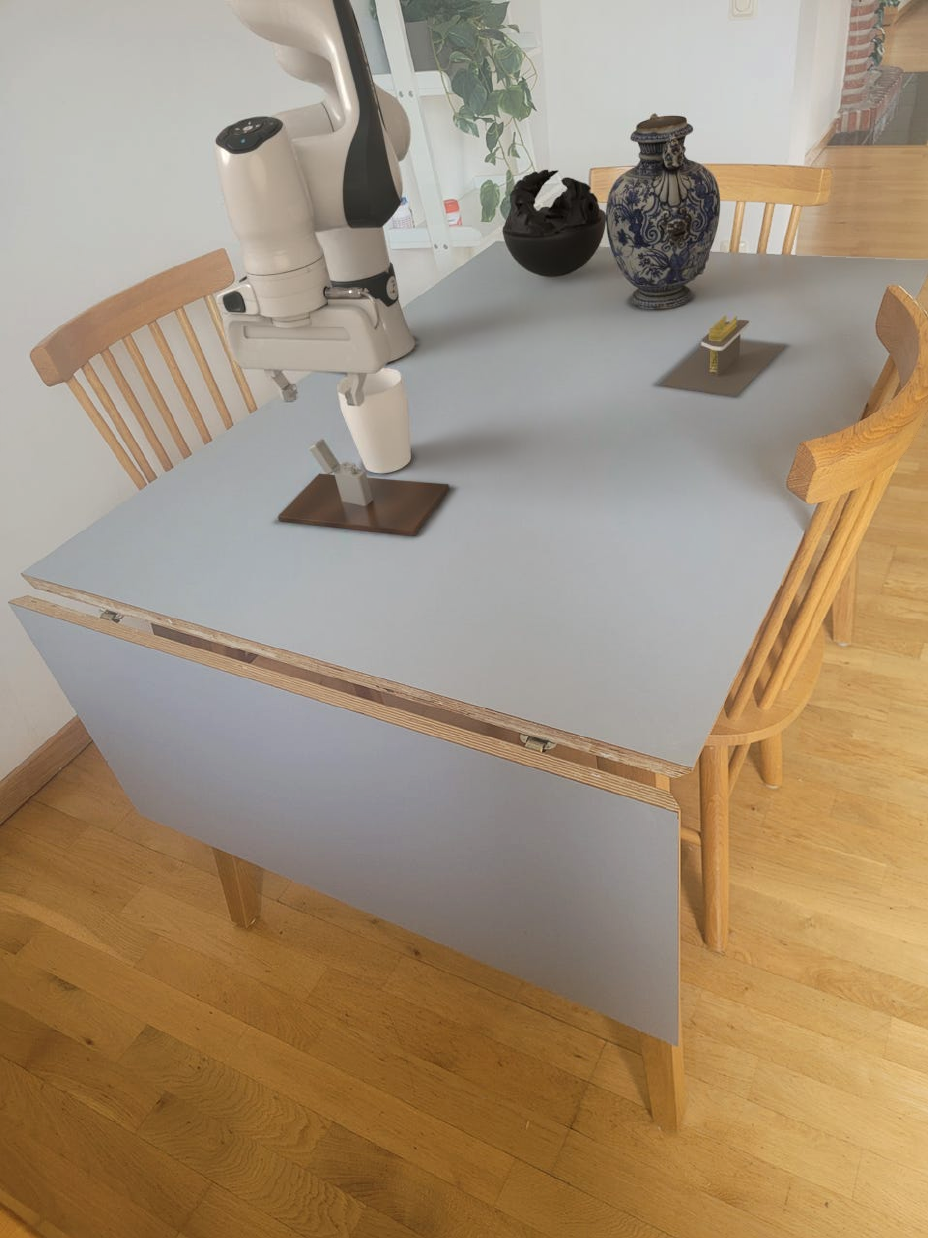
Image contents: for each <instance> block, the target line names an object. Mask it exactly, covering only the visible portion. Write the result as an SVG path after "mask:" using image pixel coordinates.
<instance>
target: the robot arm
mask: <svg viewBox="0 0 928 1238" xmlns="http://www.w3.org/2000/svg"><path fill="white" fill-rule="evenodd" d="M225 3H226V4H227V6H228V8H229V9H230V10H231V12H232V14H233V15H234V16H235V17H236V19H237V20H238V21H239V22H240V23H241V24H242V25H243V26H244V27H245V28H247V29H248V30H249V31H250V32H252V33H254V34H255V35H257V36H258V37H260V38H262V39H263V40H266V41H269V42H270V43H271V46H272V50H273V54H274V58H275V59H276V61H277V63H278V65H279V67H280V69H282V70H283V71H284V72H285V73H286V74H287V75H290V76H291V77H293V78H295V79H297V80H300V81H302V82H304V83H308V84H311V85H314V86H317V87H320V88H321V89H322V90H323V94H324V99H323V100H322V101H320V102H317V103H314V104H309V105H305V106H300V107H296V108H291V109H288V110H287V109H286V110H283V111H279V112H277V113H275V114H272V115H271V116H266V115H263V116H262V115H261V116H259V115H258V116H253V117H248V118H244V119H241V120H238V121H236V122H234V123H233V124H230V125H227V126H226V127H225V128H223V129H222V131H220V132H219V133H218V134H217V136H216V138H215V140H214V157H215V163H216V170H217V175H218V180H219V185H220V189H221V193H222V197H223V202H224V206H225V210H226V214H227V216H228V219H229V223H230V226H231V229H232V231H233V233H234V235H235V236H236V237H237V240H238V241H239V244H240V247H241V250H242V258H243V259H242V261H243V262H242V263H243V269H244V272H245V276H243V277H241V278H240V279H239V280H237V281H235V282H233V283H232V284H231V285H229V286H227V287H226V288H225V289H224V290H222V291H221V292H220V293H218V294H217V295H216V297H215V301H216V305H217V307H218V309H219V311H220V312H221V313H223V314H224V315H223V318H222V326H223V331H224V334H225V335H224V336H225V338H226V342H227V345H228V349H229V351H230V354H231V357H232V359H233V361H234V362H235V363H236V364H237V365H238V366H239V367H240V368H241V369H244V370H263V372H264V375H265V378H266V379H267V381H269V382H270V383H271V385H272V386H273V387H274V388H275V389H276V390H277V391H278V394H279V397H280V400H281V402H282V403H295V401H297V400H298V399H299V396H300V395H299V392H298V391H297V390H298V387H297V384H296V383H290V381H289V380H288V378H287V377H286V375H285V374H284V372H283V371H290V372H291V371H293V372H317V373H319V372H320V373H341V374H342V373H343V374H346V375H347V376H346V377H348V380H350V381H352V380H353V384H352V387H350V388H349V390H348V391H346V392H345V393H344V394H345V398H346V399H347V405H349V406H360V405H361V404H362V403H363V402H364V394H363V390H362V387H363V384H364V381H365V378H366V375H367V374H375V373H377V372H379V371H380V370H381V369H382V368H385V366H386V365H387V364H388V363H391V362H393V361H395V360H398V359H400V358H402V357H404V356H406V355H407V354H408V353H410V352H411V351H412V350H413V349H414V348H415V346H416V340H415V338H414V337H413V334H412V332H411V330H410V328H409V326H408V323H407V320H406V318H405V315H404V312H403V309H402V306H401V303H400V299H399V298H400V296H399V295H400V294H399V287H398V281H397V278H396V271H395V267H394V264H393V263H392V262H391V261H390V255H389V250H388V245H387V240H386V235H385V231H384V226H385V225H386V224H387V223H388V222H389V220H391V218H393V216H394V215H395V213H396V212H397V211H398V210H399V208H400V207H401V204H402V203H403V193H404V191H403V190H404V187H403V186H404V185H403V183H404V182H403V175H402V170H401V166H400V162H402V161H403V160H405V158H406V157H407V154H408V152H409V148H410V145H411V138H412V132H411V131H412V129H411V124H410V123H411V122H410V120H409V116H408V114H407V112H406V110H405V108H404V106H403V105H402V104H401V102H400V101H399V100H398V99H397V98H396V97H395V96H394V95H392V94H391V93H389V92H387V91H386V90H385V89H383V88H381V86H379V85H378V84H376V83H375V82H374V77H373V75H372V72H371V67H370V63H369V60H368V55H367V52H366V49H365V44H364V42H363V41H364V40H363V38H362V35H361V30H360V27H359V24H358V21H357V17H356V14H355V11H354V8H353V5H352V4H351V1H350V0H225Z"/></svg>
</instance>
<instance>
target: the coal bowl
mask: <svg viewBox="0 0 928 1238" xmlns="http://www.w3.org/2000/svg"><path fill="white" fill-rule="evenodd" d="M557 173H559V170H551V171H549V169H542V170H541V171H539V172H538V171H533V172H532V173H529V174H526V175H524V176H523V177H522V179H519V180H517V182H516V183H515V185H514V187H513V190H511V192H510V194H509V203H510V208H509V213H508V215H507V218H506V219H505V222H504V225H503V226H502V230H501V231H502V232H501V233H502V236H503V240H504V243H505V245H506V248H507V250H508V252H509V253H510V255H511V256H512V257H513V259H514V260H515V261H516V262H517V264H519V266H521V267H522V268H523V269H525V270H526V271H528V272H530V273H532V274H533V275H534V274H535V275H537V276H541V277H546V278H559V277H563V276H566V275H569V274H572V273H574V272H576V271H578V270H579V269H581V268H582V267H583V266H585V265H586V264H587V263H588V262H589V261H590V260H591V259H592V258H593V256H594V255H595V254H596V252H597V250H598V249H599V247H600V245H601V243H602V241H603V237H604V234H605V232H606V231H605V230H606V211H604V210H603V209H601V208H600V205H599V203H598V202H599V200H598V198H597V196H596V194H595V193H593V192H591V190H592V187H591V186H590V185H589V184H587V183H586V182H582V181H580V180H577V179H575V178H572V177H567V176H566V177H563V178H562V179H561V180H560V181H561V184H562V185H564V187H566V189H565V191H562V192H561V194H560V195H559V196H557V197H556V198H554V200H553V202H552V204H551V206H542V207H540V209H538V210H537V209H536V207H535V204H536V199H537V197H538V195H539V193H540V192H541V190H542V188H543V186H545V184H546V183H547V182H548V181H550V180H551V178H552V177H554V175H556V174H557Z"/></svg>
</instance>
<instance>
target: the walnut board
mask: <svg viewBox="0 0 928 1238" xmlns="http://www.w3.org/2000/svg"><path fill="white" fill-rule="evenodd" d="M367 479H368V483H369V487H370V491H371V495H372V498H373V500H372V501H371V502H370V503H369V504H368V505H366V506H363V505H358V504H353V503H348V502H343V501H342V500H341V496H340V492H339V489H338V485H337V482H336V478H335V475H334V474H331V473H330V474H328V475H327V474H326V473H318V474H317V475H316V476H315V477H314V478H313V480H311V481H310V482H309V483H308V485H307V486H305V488H304V489H303V490H301V492H300V493H299V494H298V495H297V496H296V497H295V498H294V499H293V500H292V501H291V502H290V503H289V504H288V505H287V506H286V507H285V508H284V509H283V510H282V511H281V512H280V513H279V514H278V515H277V518H278V521H279V522H282V523H283V522H284V523H292V524H302V525H311V526H318V527H319V526H320V527H327V528H337V529H345V530H354V531H363V532H373V533H383V534H391V535H400V536H409V537H415V536H416V535H417V534H418V532H419V531H420V530H421V528H422V527H423V525H424V524H425V523H426V521H427V520H428V518H429V517H430V516H431V514H432V513H433V512H434V511H435V509H436V508H437V507H438V505H439V504H440V502H442V500H443V499H444V497H445V496H446V495H447V493H448V492H449V491H450V485H449V484H448V483H439V482H438V483H437V482H424V481H414V480H413V481H411V480H401V479H389V478H379V477H378V478H377V477H367Z"/></svg>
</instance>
